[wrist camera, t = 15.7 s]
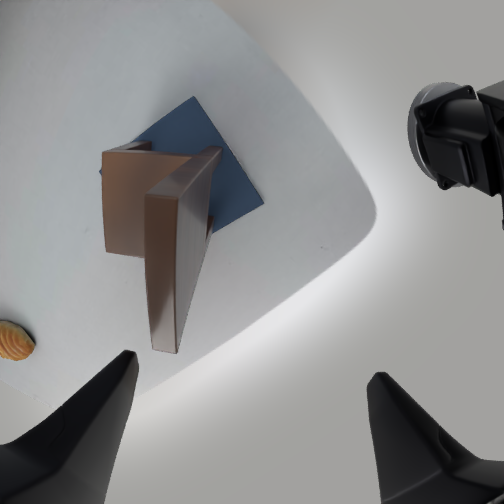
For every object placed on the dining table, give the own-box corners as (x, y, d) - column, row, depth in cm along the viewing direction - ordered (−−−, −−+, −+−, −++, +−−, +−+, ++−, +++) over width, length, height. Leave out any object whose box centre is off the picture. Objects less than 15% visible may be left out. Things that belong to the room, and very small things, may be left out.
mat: (194, 96, 16) (193, 95, 16) (263, 202, 20) (264, 203, 20) (100, 171, 18) (98, 171, 18) (166, 260, 22) (165, 261, 22)
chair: (223, 146, 18) (178, 197, 7) (213, 228, 20) (177, 355, 10) (139, 140, 17) (17, 186, 7) (136, 219, 20) (48, 323, 9)
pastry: (19, 315, 26) (5, 333, 22) (46, 352, 29) (35, 371, 25) (-8, 318, 27) (-20, 334, 23) (16, 351, 30) (6, 367, 26)
